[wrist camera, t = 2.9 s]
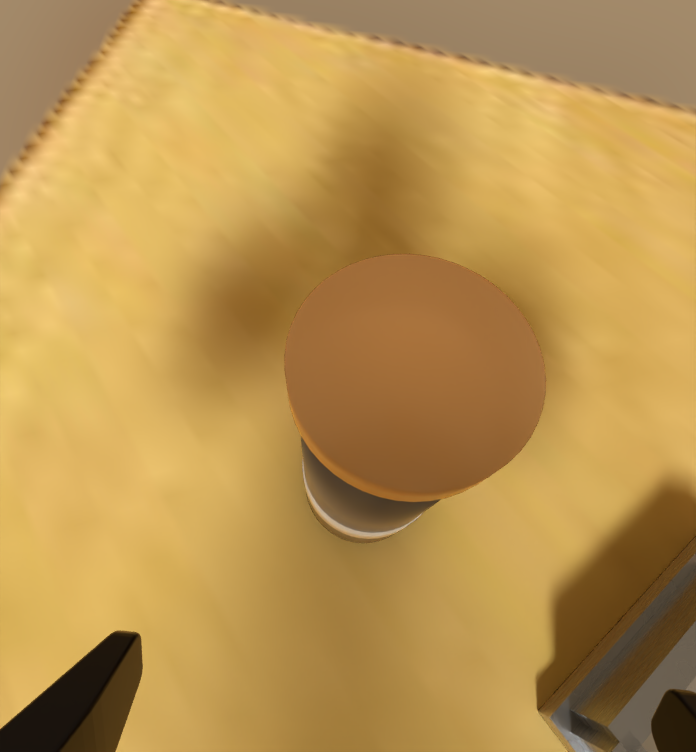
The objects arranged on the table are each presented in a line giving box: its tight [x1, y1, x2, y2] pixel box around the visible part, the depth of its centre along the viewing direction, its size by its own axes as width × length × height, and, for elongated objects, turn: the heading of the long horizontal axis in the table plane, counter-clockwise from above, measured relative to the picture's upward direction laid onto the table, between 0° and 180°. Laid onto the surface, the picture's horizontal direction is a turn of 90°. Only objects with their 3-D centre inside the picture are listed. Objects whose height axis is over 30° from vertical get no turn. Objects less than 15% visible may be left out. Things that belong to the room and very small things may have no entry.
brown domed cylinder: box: [285, 254, 546, 543], centre depth 16 cm, size 6×6×13 cm
